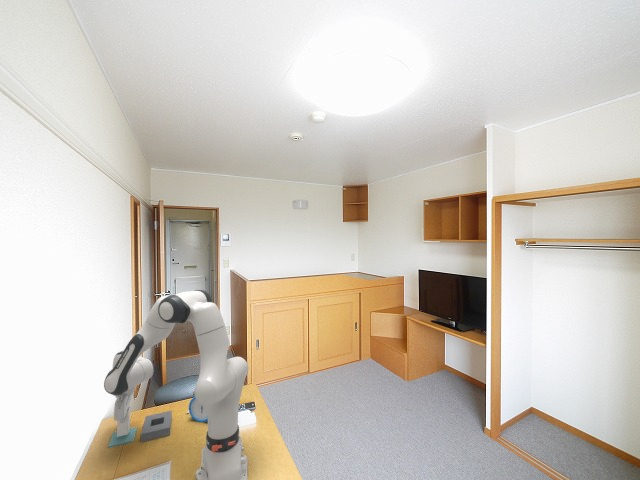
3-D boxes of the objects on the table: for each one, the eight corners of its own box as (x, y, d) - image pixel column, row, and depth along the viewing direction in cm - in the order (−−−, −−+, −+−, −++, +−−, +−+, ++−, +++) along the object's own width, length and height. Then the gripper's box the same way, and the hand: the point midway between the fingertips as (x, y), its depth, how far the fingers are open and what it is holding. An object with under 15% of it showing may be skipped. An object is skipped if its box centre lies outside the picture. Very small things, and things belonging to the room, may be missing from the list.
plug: (128, 434, 122) (128, 407, 122) (116, 436, 120) (117, 409, 120) (129, 428, 125) (130, 402, 126) (119, 431, 124) (119, 404, 124)
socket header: (169, 436, 124) (169, 427, 124) (140, 443, 119) (140, 434, 120) (171, 418, 137) (171, 410, 137) (145, 424, 132) (145, 416, 132)
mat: (133, 442, 120) (133, 440, 120) (107, 449, 116) (107, 446, 116) (137, 428, 129) (137, 426, 129) (113, 434, 125) (113, 432, 125)
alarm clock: (188, 422, 134) (188, 390, 135) (195, 414, 140) (195, 384, 141) (213, 424, 133) (214, 392, 133) (219, 416, 139) (220, 386, 139)
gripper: (128, 397, 115) (127, 430, 115) (136, 376, 134) (136, 405, 133) (109, 400, 112) (108, 435, 112) (120, 378, 131) (120, 408, 131)
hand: (123, 418), depth 123 cm, fingers closed on plug, 4 cm apart
